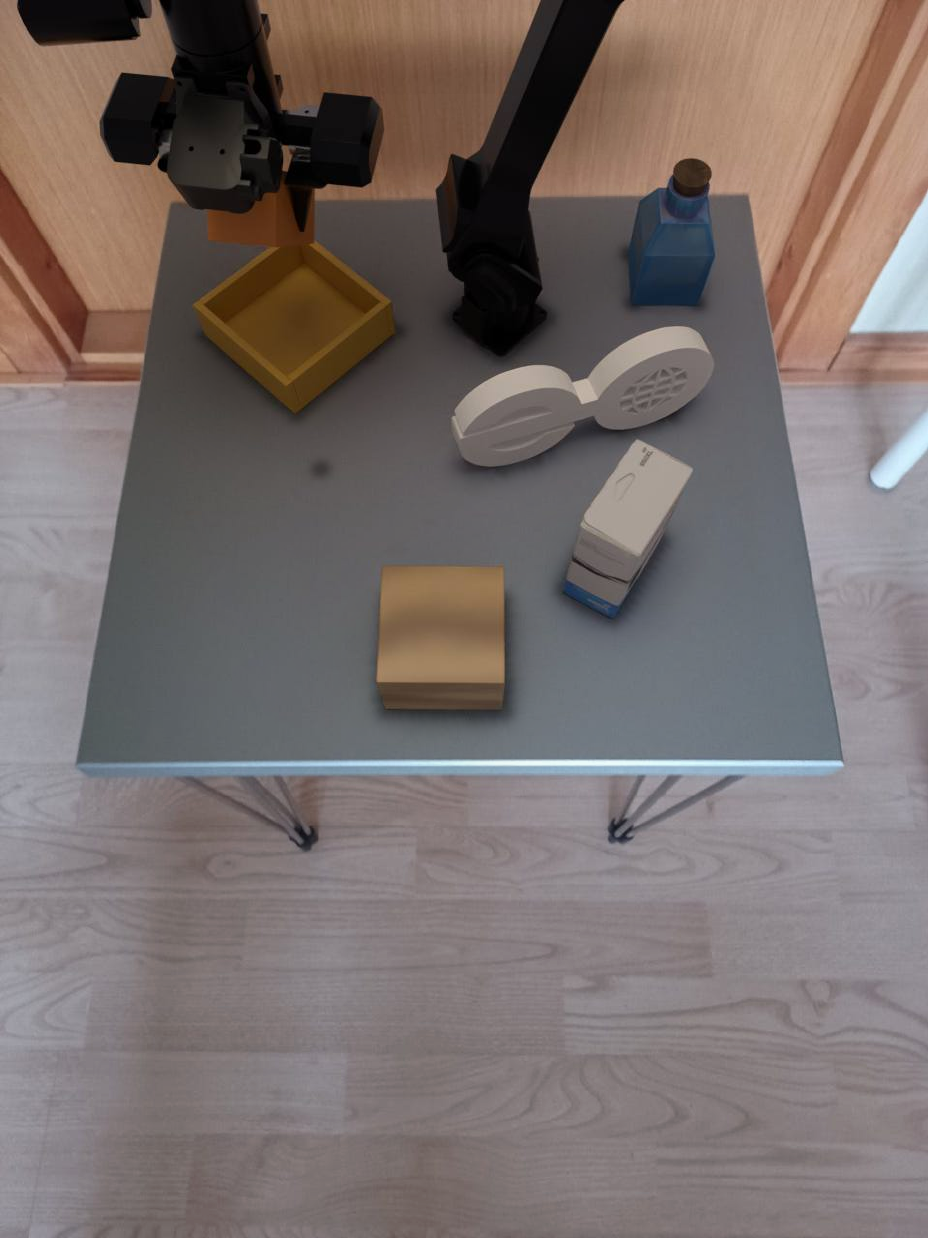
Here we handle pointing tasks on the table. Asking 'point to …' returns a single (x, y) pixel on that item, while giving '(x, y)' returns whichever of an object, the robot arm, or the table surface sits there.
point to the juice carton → (263, 222)
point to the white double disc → (581, 397)
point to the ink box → (624, 527)
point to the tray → (296, 320)
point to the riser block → (441, 637)
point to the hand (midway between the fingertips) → (270, 224)
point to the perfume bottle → (673, 240)
